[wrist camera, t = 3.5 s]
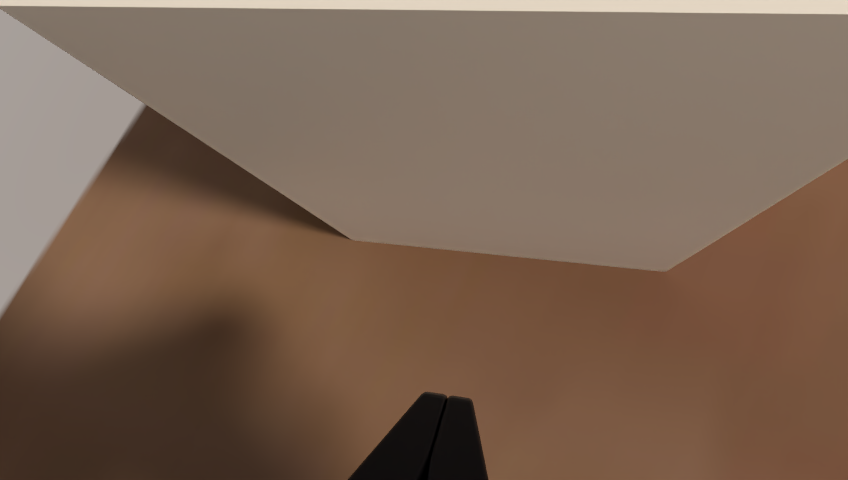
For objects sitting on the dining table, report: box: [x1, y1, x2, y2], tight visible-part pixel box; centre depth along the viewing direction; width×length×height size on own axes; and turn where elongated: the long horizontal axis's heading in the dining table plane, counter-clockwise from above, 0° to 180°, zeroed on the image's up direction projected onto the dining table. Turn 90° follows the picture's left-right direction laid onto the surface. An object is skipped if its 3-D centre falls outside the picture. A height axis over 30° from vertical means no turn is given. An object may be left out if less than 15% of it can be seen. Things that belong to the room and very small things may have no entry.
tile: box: [0, 0, 848, 272], centre depth 12 cm, size 4×10×13 cm, turn 82°
